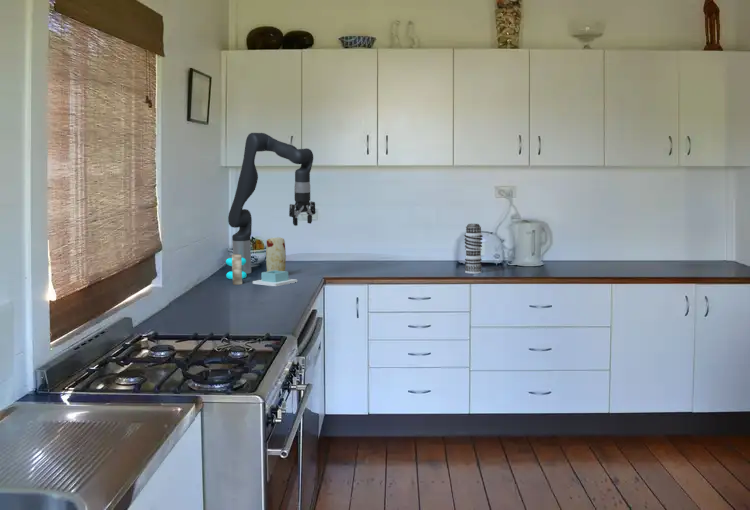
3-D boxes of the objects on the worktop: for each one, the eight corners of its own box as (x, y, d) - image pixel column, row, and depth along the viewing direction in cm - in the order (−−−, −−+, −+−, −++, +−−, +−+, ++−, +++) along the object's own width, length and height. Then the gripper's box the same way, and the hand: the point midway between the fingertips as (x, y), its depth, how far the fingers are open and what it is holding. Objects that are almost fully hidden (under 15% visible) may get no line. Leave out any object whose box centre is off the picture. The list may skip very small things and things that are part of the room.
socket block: (252, 283, 350) (252, 272, 349) (274, 279, 362) (274, 269, 361) (276, 286, 341) (275, 275, 341) (297, 282, 353) (297, 271, 353)
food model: (267, 278, 367) (266, 238, 364) (266, 276, 373) (265, 236, 371) (286, 277, 369) (285, 237, 367) (285, 275, 376) (284, 236, 373)
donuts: (222, 258, 368) (242, 256, 373) (223, 277, 370) (242, 276, 375) (229, 260, 360) (248, 258, 365) (230, 280, 361) (249, 278, 366)
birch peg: (230, 284, 349) (229, 254, 347) (237, 283, 352) (236, 254, 351) (237, 285, 346) (236, 255, 345) (244, 283, 350) (243, 254, 348)
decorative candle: (479, 274, 374) (479, 224, 371) (461, 273, 378) (462, 224, 375) (484, 271, 382) (484, 223, 379) (467, 270, 386) (467, 223, 383)
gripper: (309, 188, 358) (308, 221, 362) (285, 191, 348) (285, 225, 352) (319, 190, 353) (318, 223, 357) (295, 193, 343) (295, 227, 347)
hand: (302, 224), depth 354 cm, fingers open, 8 cm apart
